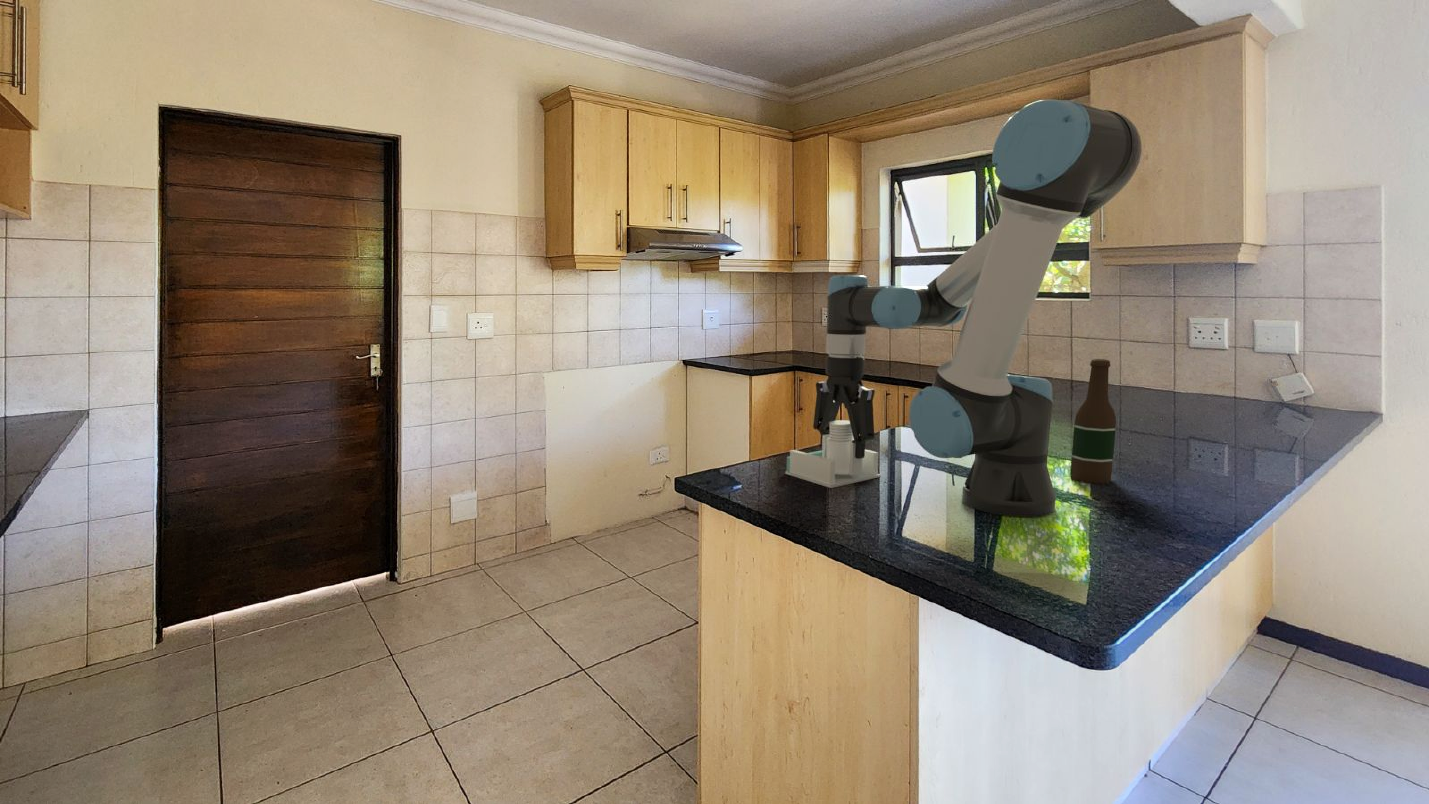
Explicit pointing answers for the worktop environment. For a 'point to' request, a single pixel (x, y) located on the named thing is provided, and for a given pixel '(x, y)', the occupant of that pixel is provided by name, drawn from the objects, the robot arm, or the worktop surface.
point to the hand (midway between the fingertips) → (841, 469)
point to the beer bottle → (1094, 430)
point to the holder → (828, 468)
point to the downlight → (839, 445)
